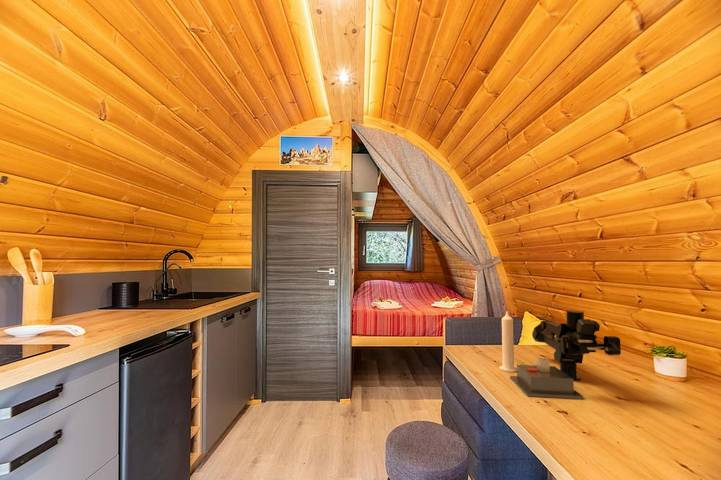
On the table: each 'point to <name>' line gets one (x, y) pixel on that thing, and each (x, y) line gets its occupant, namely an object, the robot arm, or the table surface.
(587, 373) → the table surface
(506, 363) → the candle
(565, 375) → the stand
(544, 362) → the post
